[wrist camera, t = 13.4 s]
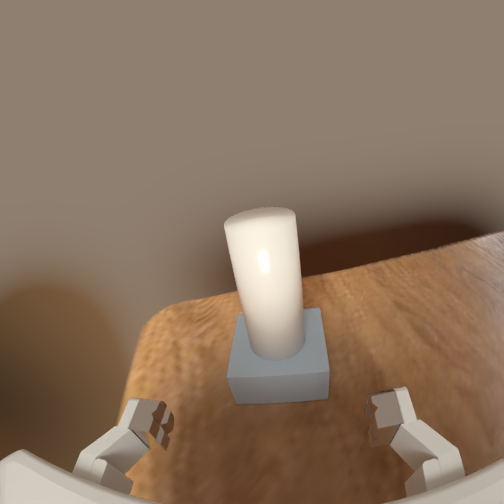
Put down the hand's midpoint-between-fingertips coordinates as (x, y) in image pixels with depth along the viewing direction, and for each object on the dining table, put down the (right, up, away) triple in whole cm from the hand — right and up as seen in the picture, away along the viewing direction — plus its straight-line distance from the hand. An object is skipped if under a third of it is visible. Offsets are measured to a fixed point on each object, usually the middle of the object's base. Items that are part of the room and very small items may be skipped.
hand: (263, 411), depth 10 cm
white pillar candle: (+2, -1, +14) cm, 14 cm away
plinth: (+2, -5, +16) cm, 17 cm away
